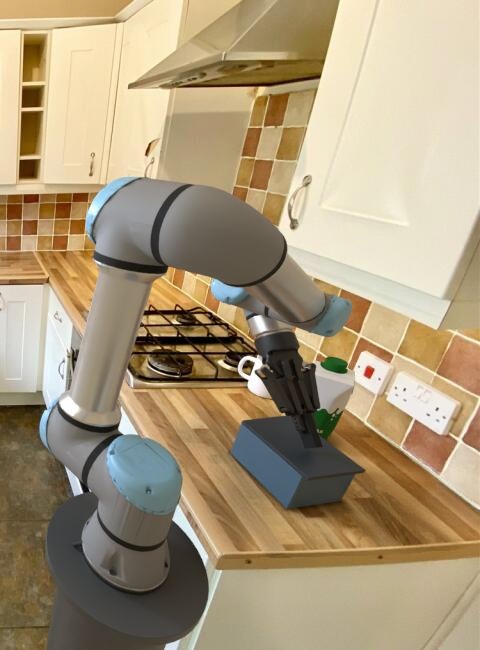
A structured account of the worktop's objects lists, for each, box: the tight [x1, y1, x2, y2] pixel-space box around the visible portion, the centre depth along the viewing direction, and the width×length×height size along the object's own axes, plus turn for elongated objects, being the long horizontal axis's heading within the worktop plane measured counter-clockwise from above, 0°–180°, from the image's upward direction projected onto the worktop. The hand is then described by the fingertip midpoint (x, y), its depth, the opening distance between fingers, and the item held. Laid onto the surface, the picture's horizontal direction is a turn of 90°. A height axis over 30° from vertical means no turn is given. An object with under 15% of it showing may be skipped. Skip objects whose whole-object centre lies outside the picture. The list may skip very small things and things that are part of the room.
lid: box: [241, 415, 366, 481], centre depth 85 cm, size 17×13×1 cm
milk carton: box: [312, 356, 356, 441], centre depth 98 cm, size 9×9×20 cm
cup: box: [237, 354, 273, 400], centre depth 117 cm, size 8×12×10 cm
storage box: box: [230, 422, 357, 510], centre depth 88 cm, size 16×13×9 cm
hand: (313, 447), depth 82 cm, fingers closed
